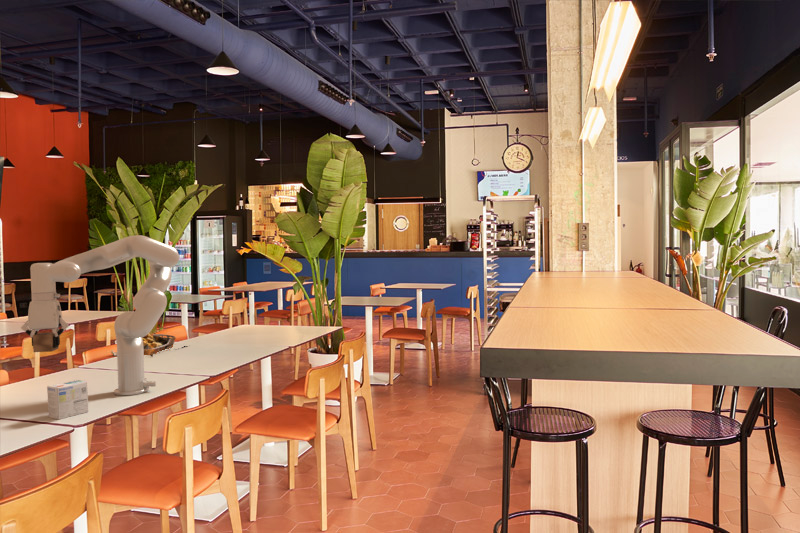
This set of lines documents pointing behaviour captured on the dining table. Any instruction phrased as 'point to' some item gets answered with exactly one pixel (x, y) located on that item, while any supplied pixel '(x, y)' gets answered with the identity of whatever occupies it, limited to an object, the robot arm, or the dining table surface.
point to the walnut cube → (43, 342)
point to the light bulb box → (67, 399)
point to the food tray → (155, 343)
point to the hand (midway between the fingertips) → (46, 347)
